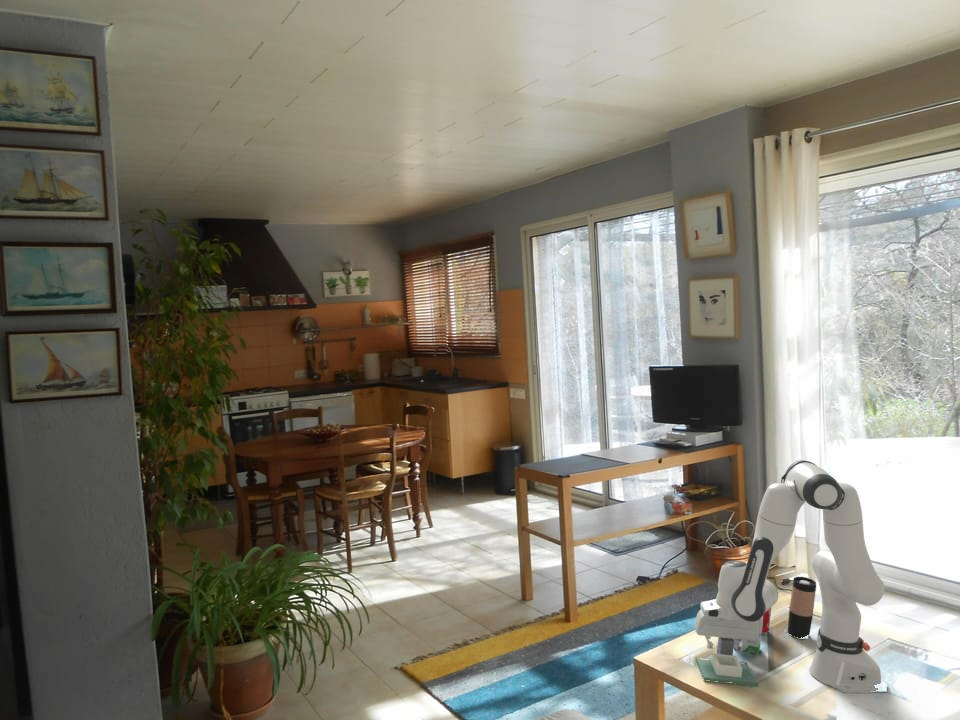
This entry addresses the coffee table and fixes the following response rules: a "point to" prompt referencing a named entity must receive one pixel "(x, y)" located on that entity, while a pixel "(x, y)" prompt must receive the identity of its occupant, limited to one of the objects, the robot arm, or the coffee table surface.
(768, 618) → the soda can
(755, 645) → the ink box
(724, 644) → the plug
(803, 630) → the travel mug
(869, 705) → the coffee table surface
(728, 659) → the header board
